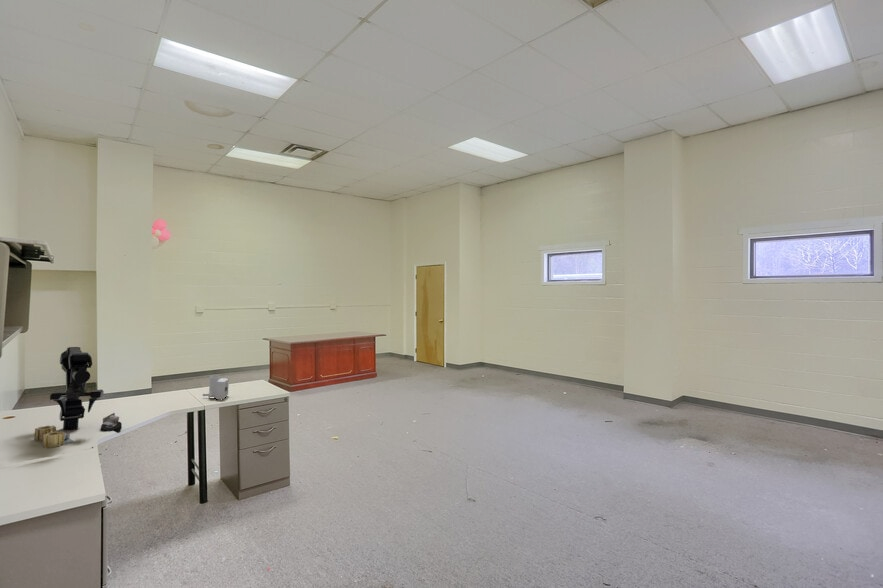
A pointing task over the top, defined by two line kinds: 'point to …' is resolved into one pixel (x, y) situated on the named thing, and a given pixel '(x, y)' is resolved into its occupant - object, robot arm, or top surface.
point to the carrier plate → (62, 444)
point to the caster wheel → (111, 423)
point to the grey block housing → (218, 387)
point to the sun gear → (67, 436)
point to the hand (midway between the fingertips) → (76, 412)
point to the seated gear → (43, 432)
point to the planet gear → (53, 439)
